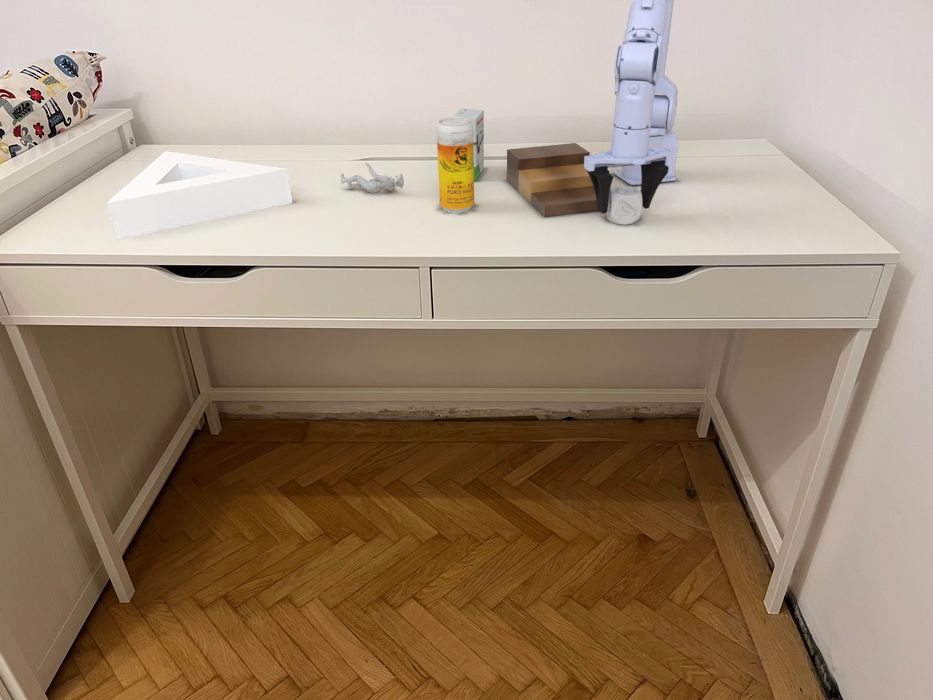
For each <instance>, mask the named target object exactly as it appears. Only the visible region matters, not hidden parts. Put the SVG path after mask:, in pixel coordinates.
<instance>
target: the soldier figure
mask: <svg viewBox="0 0 933 700" xmlns="http://www.w3.org/2000/svg"><path fill="white" fill-rule="evenodd" d="M364 165H365V166H366V167H367V169H368V172H369V173H370V175H371V176H372V178H373V179H369V180H367V179H366V178H365V177H362V176H361V175H359V174H355V175H353V176H349V177H345V174H344V173H341V174H340V184H341V185H343V184H345V183H347V187H346V188H347V190H350V189H358V188H363V189H364V190H365V191H366V192H368V193H370V194H375V193H378V192H380V191H382V190H384V191H385V190H387V191H388V192H392V191H393V190H394V189H395V188H396V187H399V188H400V189H401V190H402V189H403V187H404V185H405V181H404V176H403V173H402V172H401V173H400V174H398V175H397V176H396V175H395V176H394V177H392V176H388V175H380V174H377V173H376V172H375V171H374V169H373V168H372V166H371V165H370V164H369V162H365V163H364ZM355 182H356V183H355Z"/></svg>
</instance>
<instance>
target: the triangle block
mask: <svg viewBox="0 0 933 700" xmlns="http://www.w3.org/2000/svg"><path fill="white" fill-rule="evenodd" d="M292 203H293V195H292V189H291V183H290V176H289V170H288V168H286V167H285V168H284V167H277V166H271V165H263V164H256V163H250V162H243V161H236V160H229V159H223V158H216V157H208V156H203V155H202V156H201V155H197V154H196V155H195V154H188V153H181V152H176V151H168V150H164V151H163V152H162V153H161V154H160V155H159V156H158V157H157V158H156V159H154V161H152V162H151V163H150V164H149V165H148V166H146V167H145V168H144V169H143V170H142V171H141V172H140V173H139V174H137V175H136V176H135V177H134V178H133V179H132V180H131V181H130V182H129V183H127V184H126V185H125V186H123V188H122V189H120V190H119V191H118V192H117V193H116V194H114V195H113V196H112V197H111V198H110V199H109V200H108V201H106V207H107V210H108V214H109V217H110V221H111V223H112V227H113V231H114V234H115V237H116V240H117V241H119V240H124V239H129V238H133V237H139V236H143V235H148V234H152V233H157V232H161V231H162V232H163V231H166V230H172V229H175V228H180V227H185V226H186V227H187V226H190V225H195V224H199V223H205V222H208V221H212V220H217V219H222V218H223V219H224V218H228V217H232V216H237V215H240V214H246V213H250V212H251V213H252V212H254V211H255V212H256V211H259V210H265V209H270V208H275V207H278V206H283V205H287V204H292Z"/></svg>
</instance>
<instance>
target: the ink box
mask: <svg viewBox="0 0 933 700" xmlns="http://www.w3.org/2000/svg"><path fill="white" fill-rule="evenodd" d="M484 111H485V110H483V109H471V108H459V109H458V110H457V111H456V112H455V114H453V115H452V117H463V118H468V119H470V120H471V124H472V126H473V148H474V181H477V180H478V179H479V177H480V175H481V174H482V172H483V170H484V165H485V164H484V163H485V162H484V161H485V160H484V156H485V155H484V154H485V153H484V147H485V145H484V144H485V143H484V141H485V140H484V139H485V136H484V133H485V132H484V131H485V130H484V129H485V127H484V126H485V112H484Z"/></svg>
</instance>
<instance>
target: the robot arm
mask: <svg viewBox="0 0 933 700" xmlns="http://www.w3.org/2000/svg"><path fill="white" fill-rule="evenodd" d="M674 3H675V0H633V1H632V2H631V4H630V5H629V6H630V7H629V12H628V16H627V22H626V27H625V31H624V36H623V41H622V45H620V44H619V45H617V49H616V52H615V59H614V68H613V71H614V95H615V102H614V103H615V104H614V114H613V125H612V137H611V149H610V150H608V151H604V152H599V153H595V154H590V156H584V168H585V169H586V170H587V172H588V174H589V176H590V179H591V181H592V184H593V187H594V190H595V194H596V199H597V206H598V210H599V211H598V212H600V213H601V214H604V215H605V214H606V213H607V209H608V199H609V192H610V189H611V188H612V187H611V186H612V183H613V181H614V176H616V177H618V178H619V179H621V180H622V181H624V182H625V183H627V184H629V186H639V185H640V191H641V193H642V208H643V209H650V207H651V204H652V201H653V198H654V196H655V194H656V192H657V190H658V188H659V186H660V184H661V183H666V182H673V181H674V182H675V181H676V179H677V178H676V177H675V172H676V164H677V157H678V151H679V140H678V136H677V133H675V131H674V130H673V129H674V125H675V120H676V115H677V107H678V94H679V93H678V92H679V89H678V86H677V84H676V83H675V82H673V81H672V80H671V79H670V78H669V77H668V76H667V75H666V65H667V59H668V57H667V56H668V49H669V43H670V34H671V27H672V18H673V9H674ZM619 167H620V168H622V169H621V170H613V174H611V173H610V170H608V169H612V168H619Z"/></svg>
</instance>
